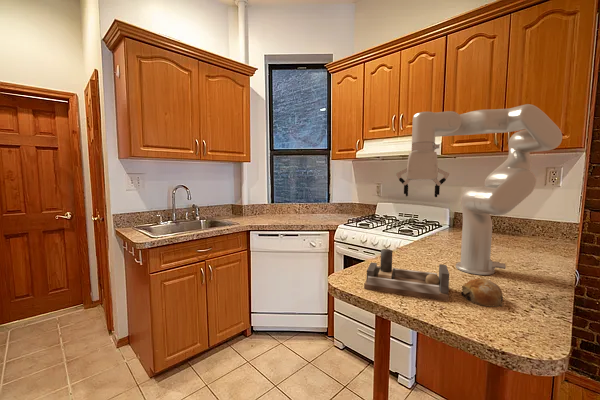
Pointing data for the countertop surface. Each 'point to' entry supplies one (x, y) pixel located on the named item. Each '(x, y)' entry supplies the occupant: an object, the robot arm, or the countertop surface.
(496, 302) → the bread roll
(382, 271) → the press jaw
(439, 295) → the base
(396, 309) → the countertop surface
